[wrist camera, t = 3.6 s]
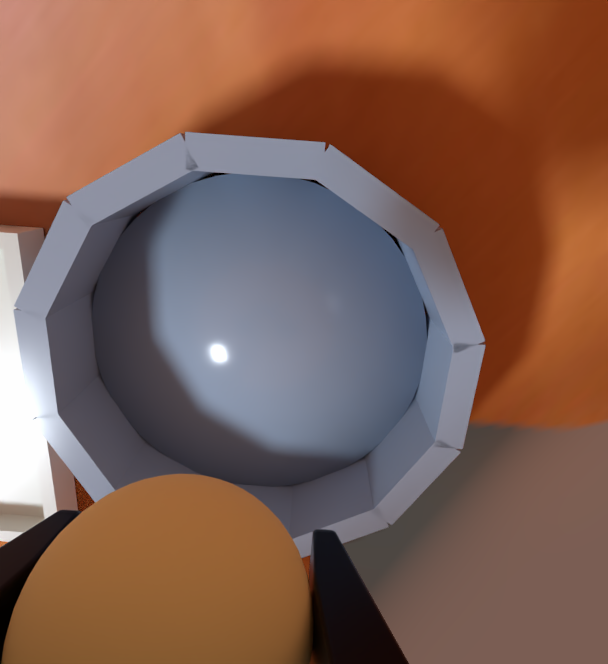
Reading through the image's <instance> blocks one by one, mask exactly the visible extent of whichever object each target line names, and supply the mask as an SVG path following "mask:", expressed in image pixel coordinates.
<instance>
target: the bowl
mask: <svg viewBox="0 0 608 664" xmlns="http://www.w3.org/2000/svg"><path fill="white" fill-rule="evenodd" d="M215 172H217V173H231V174H226V175H218V176H214V177H210V178H207V179H204V178H206V177H208V176H210V175H212V174H214V173H215ZM202 179H203V180H202ZM304 179H312V180H317V181H318V182H319V183H321V184H322V185H324V186H325V187H323V186H321V185H319V184H317V183H314V182H311V181H307V180H304ZM67 199H68V200H63V202H62V204H61V206H60V208H59V211H58V213H57V215H56V217H55V219H54V221H53V223H52V225H51V228H50V230H49V232H48V234H47V236H46V238H45V240H44V243H43V245H42V247H41V249H40V251H39V253H38V255H37V258H36V260H35V262H34V264H33V266H32V268H31V270H30V273H29V275H28V277H27V279H26V281H25V283H24V285H23V287H22V290H21V292H20V294H19V296H18V298H17V300H16V302H15V305H14V306H15V307H16V308H17V309H14V310H13V311H14V318H15V324H16V330H17V337H18V343H19V350H20V356H21V363H22V369H23V376H24V382H25V388H26V395H27V401H28V408H29V414H30V417H35V418H34V419H33V420H32V422H33V423H34V424H35V426H36V427H37V428H38V429H39V431H40V432H41V433H42V435H43V436H44V437H45V438H46V440H47V441H48V442H49V444H50V445H51V446H52V448H53V449H54V450H55V451H56V453H57V454H58V455H59V457H60V458H61V459H62V460H63V462H64V463H65V464H66V466H67V467H68V468H69V469H70V471H71V472H72V473H73V475H74V476H75V477H76V478H77V480H78V481H79V482H80V484H81V485H82V486H83V487H84V489H85V490H86V491H87V493H88V494H89V495H90V496H91V498H92V499H93V500H94V502H95V503H96V502H97V501H99V500H100V499H102V498H103V497H105V496H106V495H108V494H110V493H112V492H114V491H116V490H118V489H120V488H122V487H124V486H127V485H129V484H131V483H134V482H137V481H140V480H143V479H147V478H152V477H157V476H162V475H170V474H196V475H204V476H209V477H213V478H217V479H221V480H223V481H226V482H229V483H232V484H234V485H236V486H238V487H240V488H242V489H244V490H245V491H247V492H249V493H250V494H252V495H253V496H255V497H256V498H257V499H258V500H260V501H261V502H262V503H263V504H264V505H266V506H267V507H268V508H269V509H270V510H271V511H272V512H273V513H274V514H275V515H276V517H277V518H278V519H279V520H280V521H281V523H282V524H283V525H284V527H285V528H286V530H287V531H288V533H289V534H290V536H291V538H292V539H293V541H294V543H295V545H296V547H297V549H298V551H299V553H300V556H301V558H303V557H306V556H309V555H311V545H312V535H313V531H314V530H315V529H326V530H333V531H335V532H336V534H337V535H338V537H339V539H340V541H341V542H342V544H343V543H346V542H348V541H351V540H354V539H357V538H360V537H362V536H365V535H368V534H371V533H374V532H376V531H379V530H382V529H385V528H388V527H389V525H388V523H389V524H391V525H393V524H394V522H395V521H396V520H397V519H398V518H399V517H400V516H401V515H402V514H403V513H404V512H405V511H406V510H407V509H408V508H409V507H410V506H411V505H412V503H413V502H414V501H415V500H416V499H417V498H418V497H419V496H420V495H421V494H422V493H423V492H424V491H425V490H426V489H427V488H428V486H430V484H431V483H432V482H433V481H434V480H435V479H436V478H437V477H438V476H439V475H440V474H441V473H442V472H443V471H444V470H445V469H446V467H447V466H448V465H449V464H450V463H451V462H452V461H453V460H454V459H455V458H456V457H457V456H458V455H459V454H460V453H461V452H460V450H459V449H463V445H464V440H465V436H466V432H467V427H468V423H469V418H470V414H471V409H472V405H473V400H474V396H475V391H476V387H477V382H478V378H479V373H480V369H481V364H482V360H483V355H484V350H485V346H486V345H485V344H484V343H483V342H484V341H485V339H484V336H483V333H482V331H481V328H480V325H479V323H478V320H477V318H476V315H475V312H474V310H473V307H472V304H471V302H470V299H469V297H468V294H467V291H466V289H465V286H464V283H463V281H462V278H461V276H460V273H459V270H458V268H457V265H456V262H455V260H454V257H453V255H452V252H451V249H450V247H449V244H448V241H447V239H446V236H445V233H444V231H443V228H440V227H438V226H439V224H438V223H437V222H435V221H434V220H433V219H431V218H430V217H429V216H427V215H426V214H424V213H423V212H422V211H420V210H419V209H418V208H416V207H415V206H414V205H412V204H411V203H410V202H408V201H407V200H405V199H404V198H403V197H401V196H400V195H399V194H397V193H396V192H395V191H393V190H392V189H391V188H389V187H388V186H386V185H385V184H384V183H382V182H381V181H380V180H378V179H377V178H376V177H374V176H373V175H372V174H370V173H369V172H367V171H366V170H365V169H363V168H362V167H361V166H359V165H358V164H357V163H355V162H354V161H353V160H351V159H350V158H348V157H347V156H346V155H344V154H343V153H342V152H340V151H339V150H338V149H336V148H335V147H334V146H332V145H331V144H330V145H329V147H328V148H327V150H326V152H325V142H315V141H301V140H288V139H274V138H261V137H247V136H234V135H220V134H207V133H193V132H185V134H182V133H179V134H177V135H176V136H174V137H172V138H170V139H169V140H167V141H165V142H163V143H161V144H160V145H158V146H156V147H154V148H153V149H151V150H149V151H147V152H145V153H144V154H142V155H140V156H138V157H137V158H135V159H133V160H131V161H129V162H128V163H126V164H124V165H122V166H121V167H119V168H117V169H115V170H113V171H112V172H110V173H108V174H106V175H105V176H103V177H101V178H99V179H97V180H96V181H94V182H92V183H90V184H89V185H87V186H85V187H83V188H82V189H80V190H78V191H76V192H74V193H73V194H71V195H69V196H67ZM143 211H144V212H143ZM141 212H142V213H141ZM139 213H141V214H140V215H139V216H138V214H139ZM137 216H138V217H137ZM383 228H384V229H385V230H386V231H388V232H389V233H391V234H392V235H393V236H394V237H395V239H396V242H397V244H398V247H399V248H398V247H397V245H396V244H395V242H394V241H393V239H392V238H391V237H390V236H389V235H388V234H387V233H386V232H385V230H384V229H383ZM424 309H425V311H426V316H425V311H424Z"/></svg>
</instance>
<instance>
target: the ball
mask: <svg viewBox="0 0 608 664" xmlns="http://www.w3.org/2000/svg"><path fill="white" fill-rule="evenodd" d="M313 628H314V617H313V604H312V596H311V590H310V585H309V580H308V576H307V573H306V570H305V567H304V564H303V561H302V559H301V556H300V553H299V551H298V549H297V547H296V545H295V543H294V541H293V539H292V538H291V536H290V534H289V533H288V531H287V530H286V528H285V527H284V525H283V524H282V523H281V521H280V520H279V519H278V518H277V517H276V515H275V514H274V513H273V512H272V511H271V510H270V509H269V508H268V507H267V506H266V505H264V504H263V503H262V502H261V501H260V500H258V499H257V498H256V497H255V496H253V495H252V494H250V493H249V492H247V491H245V490H244V489H242V488H240V487H238V486H236V485H234V484H232V483H229V482H226V481H223V480H221V479H217V478H213V477H209V476H204V475H196V474H170V475H162V476H157V477H152V478H147V479H143V480H140V481H137V482H134V483H131V484H129V485H127V486H124V487H122V488H120V489H118V490H116V491H114V492H112V493H110V494H108V495H106V496H105V497H103V498H102V499H100V500H99V501H97V502H96V503H94V504H93V505H91V506H90V507H88V508H87V509H85V510H84V511H83V512H82V513H80V514H79V515H78V516H77V517H76V518H75V519H74V520H73V521H72V522H71V523H70V524H69V525H67V526H66V527H65V528H64V529H63V530H62V531H61V532H60V533H59V534H58V536H57V537H56V538H55V539H54V541H53V542H52V543H51V544H50V545H49V547H48V548H47V549H46V551H45V552H44V553H43V555H42V556H41V557H40V559H39V560H38V562H37V563H36V565H35V567H34V568H33V570H32V572H31V573H30V575H29V577H28V579H27V581H26V583H25V585H24V587H23V589H22V591H21V593H20V595H19V598H18V600H17V602H16V604H15V607H14V609H13V613H12V616H11V620H10V623H9V626H8V630H7V634H6V637H5V641H4V647H3V654H2V661H1V664H310V660H311V656H312V647H313Z"/></svg>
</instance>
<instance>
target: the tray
mask: <svg viewBox="0 0 608 664" xmlns="http://www.w3.org/2000/svg"><path fill="white" fill-rule="evenodd" d="M44 240H45V239H44V231H43V228H38V227H24V226H11V225H0V541H8V542H9V541H11V540H13V539H14V538H16V537H17V536H19V535H21V534H22V533H24V532H25V531H27V530H28V529H30V528H32V527H33V526H35V525H36V524H38V523H40V522H41V521H43V520H44V519H46V518H47V517H49V516H51V515H52V514H54V513H55V512H57V511H59V510H77V511H78V505H77V497H76V489H75V481H74V475H73V473H72V472H71V471H70V469H69V468H68V467H67V466H66V464H65V463H64V462H63V460H62V459H61V458H60V457H59V455H58V454H57V453H56V451H55V450H54V449H53V448H52V446H51V445H50V444H49V442H48V441H47V440H46V438H45V437H44V436H43V435H42V433H41V432H40V431H39V429H38V428H37V427H36V426H35V424H34V423H33V422H32V420H33V419H34V418H35V417H30V414H29V408H28V401H27V395H26V388H25V382H24V376H23V369H22V363H21V356H20V350H19V343H18V337H17V330H16V324H15V318H14V311H13V310H14V309H17V308H16V307H15V306H14V305H15V302H16V300H17V298H18V296H19V294H20V292H21V290H22V287H23V285H24V283H25V281H26V279H27V277H28V275H29V273H30V270H31V268H32V266H33V264H34V262H35V260H36V258H37V255H38V253H39V251H40V249H41V247H42V245H43V243H44Z"/></svg>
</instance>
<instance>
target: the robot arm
mask: <svg viewBox="0 0 608 664" xmlns="http://www.w3.org/2000/svg"><path fill="white" fill-rule="evenodd" d="M80 513H82V512H81V511H77V510H59V511H57V512H55V513H54V514H52V515H51V516H49V517H47V518H46V519H44V520H43V521H41V522H40V523H38V524H36V525H35V526H33V527H32V528H30V529H28V530H27V531H25V532H24V533H22V534H21V535H19V536H17V537H16V538H14V539H13V540H11V541H9V542H8V543H6V544H5V545H3V546H2V547H0V664H1V661H2V654H3V647H4V641H5V637H6V634H7V630H8V626H9V623H10V620H11V616H12V613H13V609H14V607H15V604H16V602H17V600H18V598H19V595H20V593H21V591H22V589H23V587H24V585H25V583H26V581H27V579H28V577H29V575H30V573H31V572H32V570H33V568H34V567H35V565H36V563H37V562H38V560H39V559H40V557H41V556H42V555H43V553H44V552H45V551H46V549H47V548H48V547H49V545H50V544H51V543H52V542H53V541H54V539H55V538H56V537H57V536H58V534H59V533H60V532H61V531H62V530H63V529H64V528H65V527H66V526H67V525H69V524H70V523H71V522H72V521H73V520H74V519H75V518H76V517H77V516H78V515H79V514H80ZM309 585H310V590H311V596H312V604H313V617H314V628H313V647H312V656H311V660H310V664H409V663H408V661H407V659H406V658H405V656H404V654H403V652H402V650H401V648H400V647H399V645H398V643H397V641H396V639H395V638H394V636H393V634H392V632H391V630H390V629H389V627H388V625H387V623H386V622H385V620H384V618H383V616H382V614H381V613H380V611H379V609H378V607H377V605H376V604H375V602H374V600H373V598H372V596H371V595H370V593H369V591H368V589H367V588H366V586H365V584H364V582H363V580H362V579H361V577H360V575H359V573H358V571H357V569H356V568H355V566H354V564H353V562H352V560H351V559H350V557H349V556H348V553H347V551H346V550H345V548H344V546H343V544H342V542H341V541H340V539H339V537H338V535H337V534H336V532H335V531H333V530H326V529H315V530H314V531H313V535H312V545H311V555H310V566H309Z"/></svg>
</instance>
